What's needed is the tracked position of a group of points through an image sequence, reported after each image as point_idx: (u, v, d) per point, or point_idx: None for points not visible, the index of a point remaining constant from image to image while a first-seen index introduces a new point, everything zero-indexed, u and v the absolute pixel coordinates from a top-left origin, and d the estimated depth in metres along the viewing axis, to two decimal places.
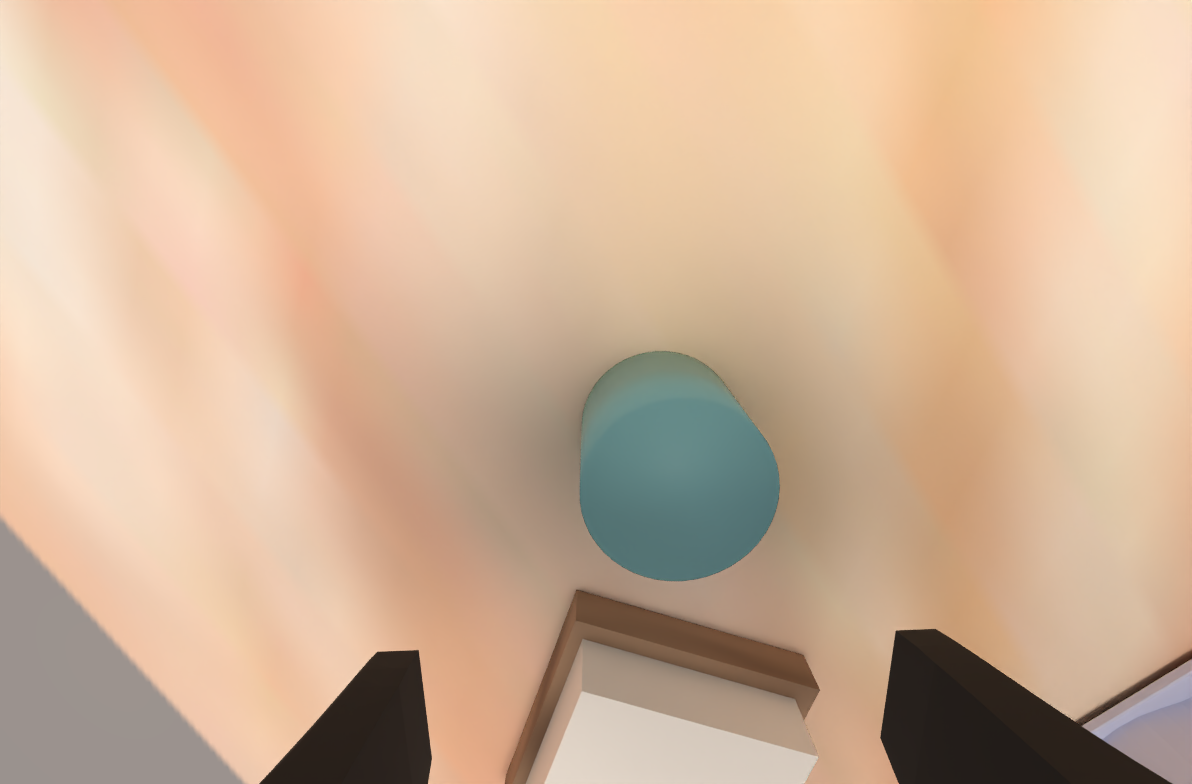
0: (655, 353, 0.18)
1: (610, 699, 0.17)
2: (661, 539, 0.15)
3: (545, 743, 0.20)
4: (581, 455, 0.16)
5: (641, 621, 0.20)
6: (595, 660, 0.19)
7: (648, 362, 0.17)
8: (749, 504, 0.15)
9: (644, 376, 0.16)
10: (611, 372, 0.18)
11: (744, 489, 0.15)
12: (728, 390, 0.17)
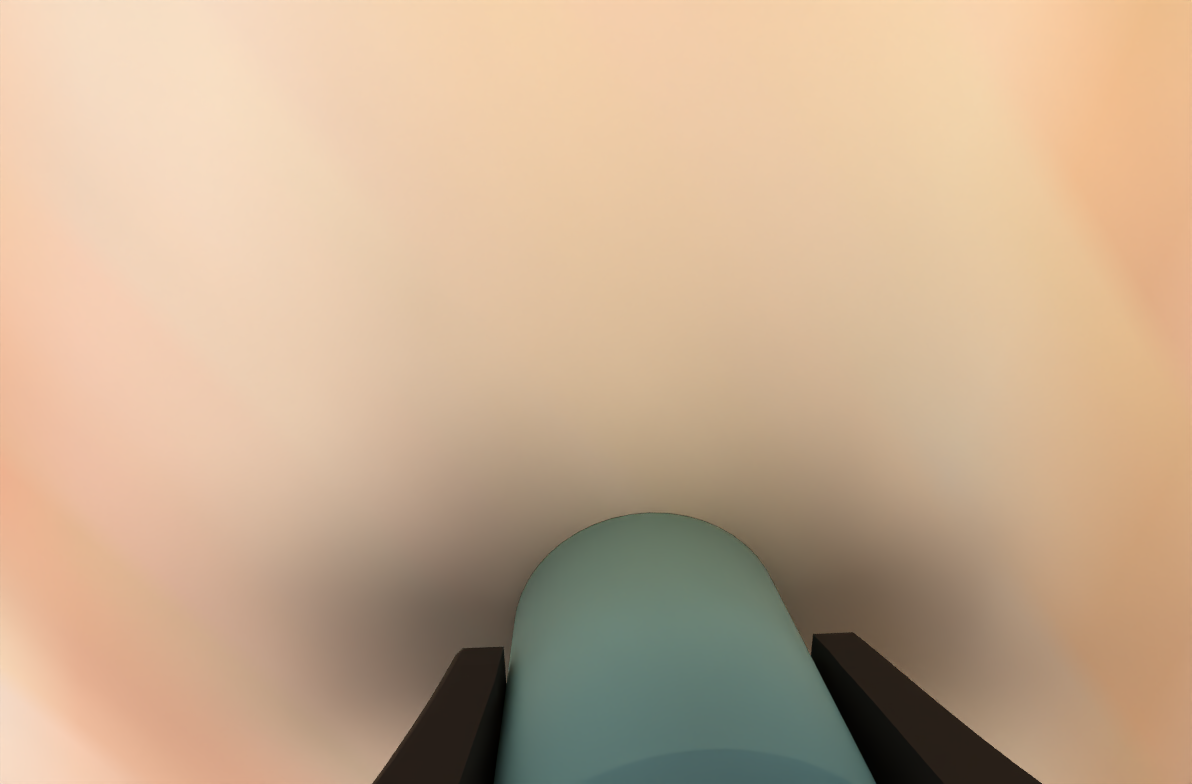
0: (629, 523, 0.10)
1: None
2: None
3: None
4: None
5: None
6: None
7: (616, 557, 0.09)
8: None
9: (606, 615, 0.08)
10: (553, 565, 0.10)
11: None
12: (771, 603, 0.09)
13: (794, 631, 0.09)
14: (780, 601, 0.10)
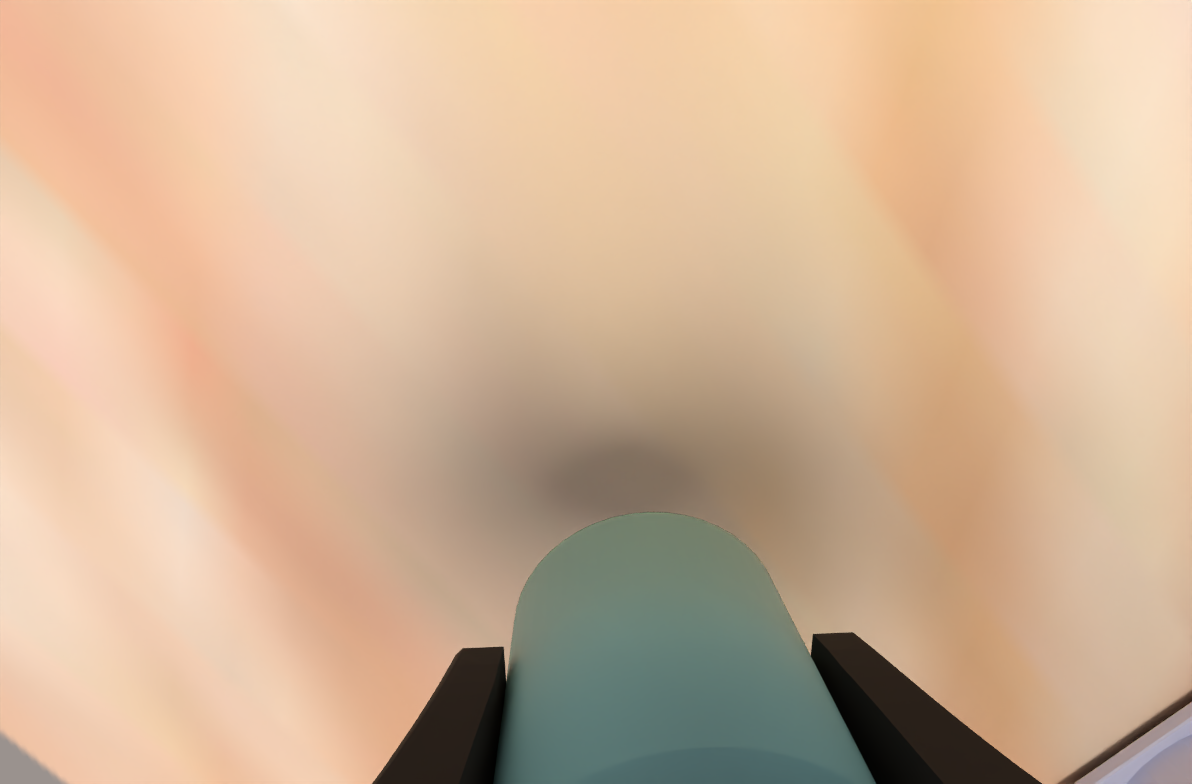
0: (629, 522, 0.10)
1: None
2: None
3: None
4: None
5: None
6: None
7: (615, 556, 0.09)
8: None
9: (605, 614, 0.08)
10: (553, 564, 0.10)
11: None
12: (770, 602, 0.09)
13: (793, 630, 0.09)
14: (779, 600, 0.10)
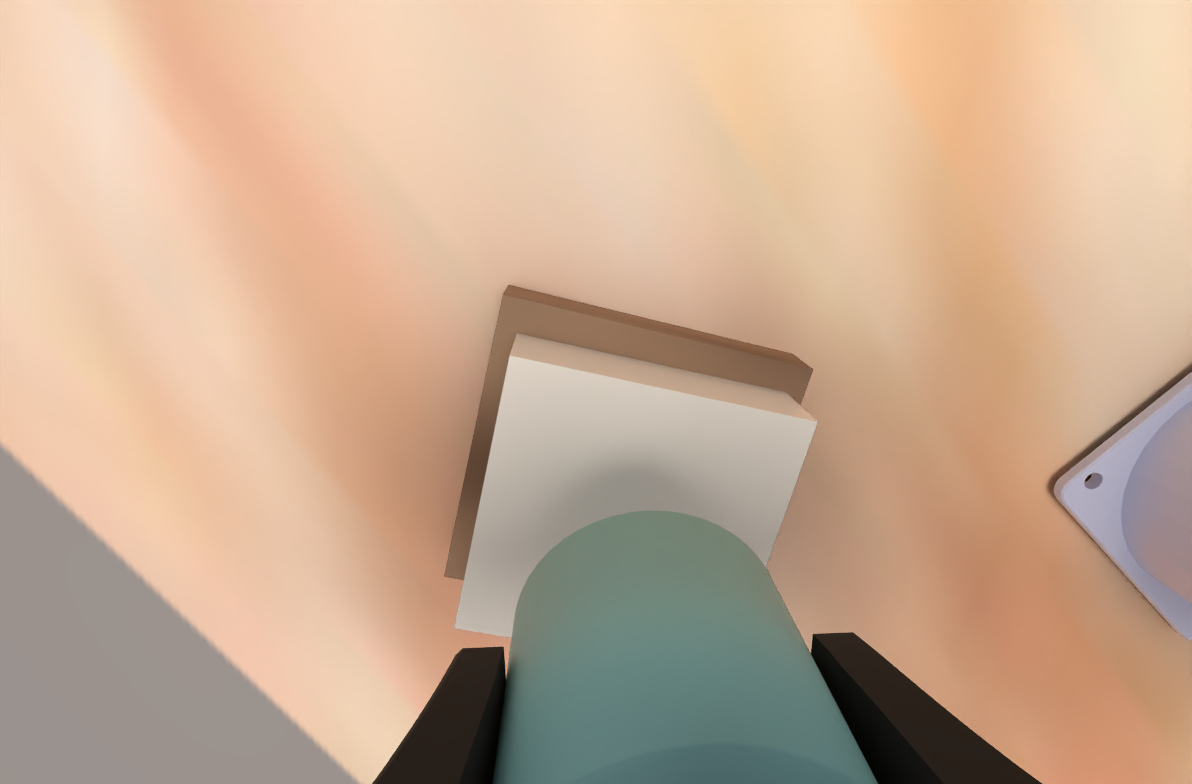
0: (629, 520, 0.10)
1: (547, 364, 0.14)
2: None
3: None
4: None
5: (589, 309, 0.17)
6: (531, 344, 0.15)
7: (615, 554, 0.09)
8: None
9: (605, 611, 0.08)
10: (552, 563, 0.10)
11: None
12: (770, 600, 0.09)
13: (794, 628, 0.09)
14: (780, 598, 0.10)
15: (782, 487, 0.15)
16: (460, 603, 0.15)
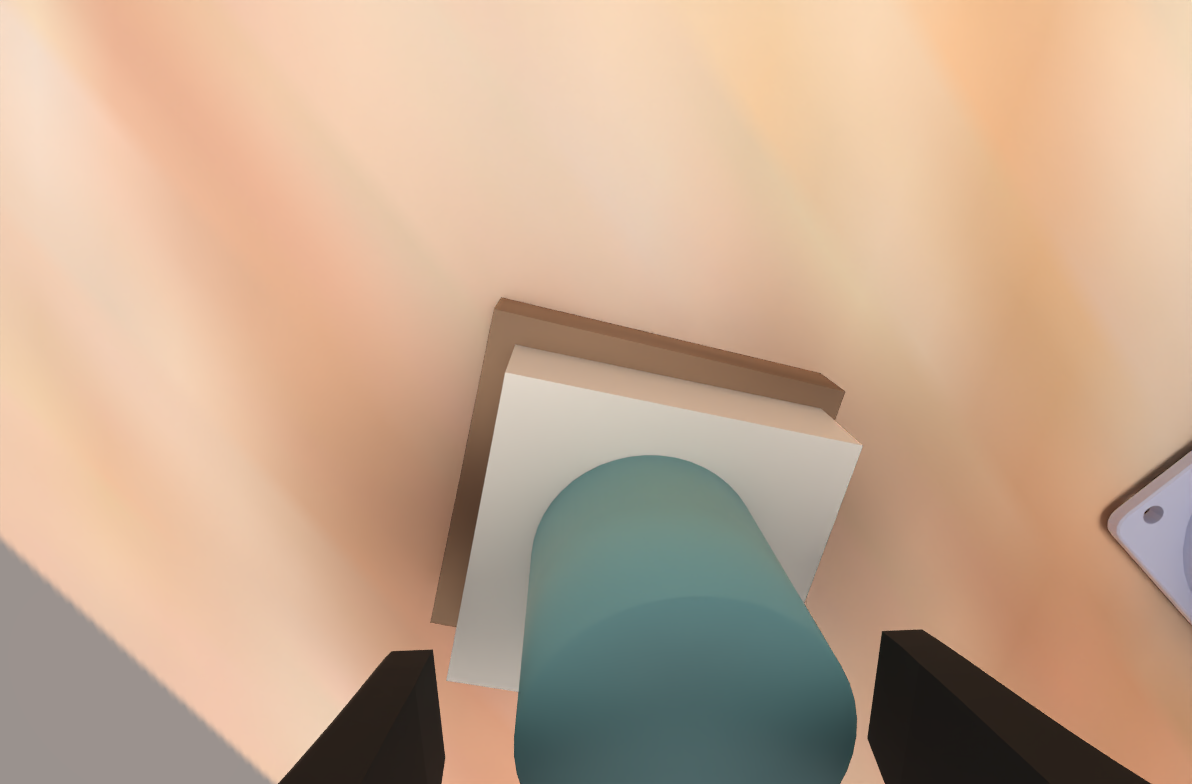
0: (629, 462, 0.12)
1: (549, 382, 0.12)
2: None
3: None
4: None
5: (592, 324, 0.15)
6: (531, 357, 0.13)
7: (618, 485, 0.11)
8: (807, 749, 0.09)
9: (611, 523, 0.10)
10: (565, 498, 0.12)
11: (796, 727, 0.09)
12: (746, 520, 0.11)
13: (765, 542, 0.11)
14: (755, 524, 0.12)
15: (821, 520, 0.13)
16: (453, 653, 0.14)
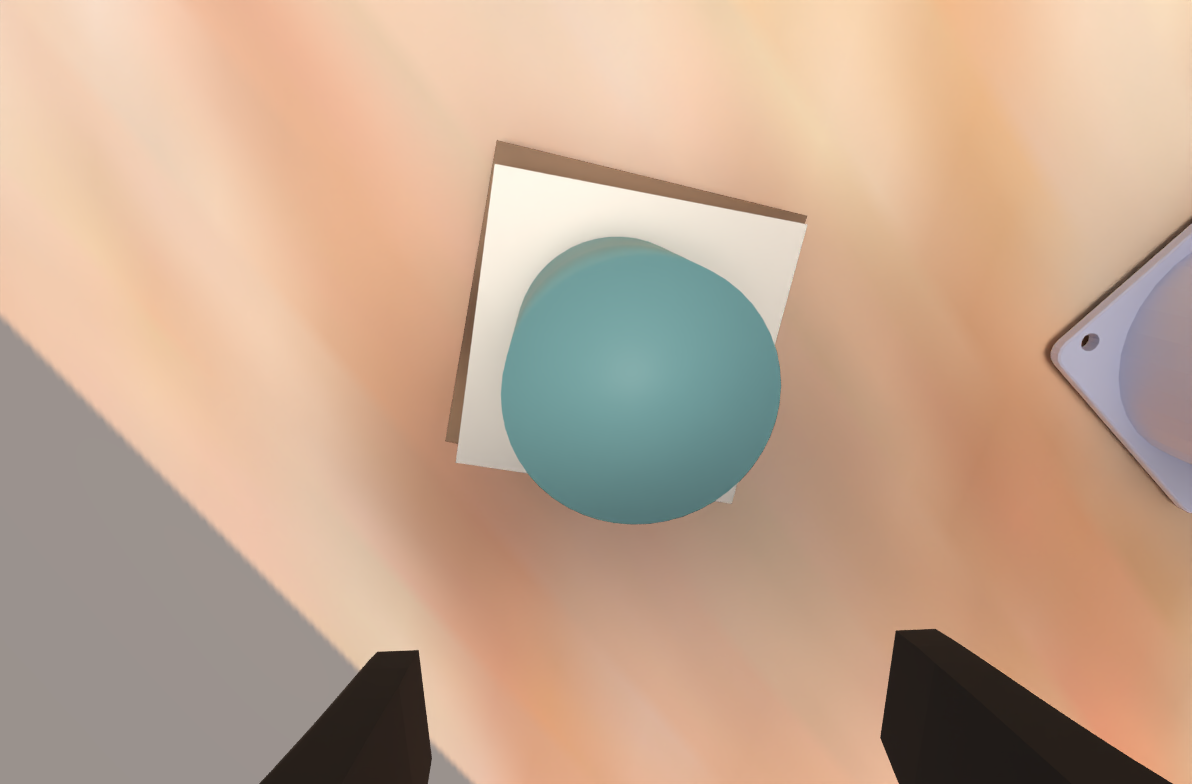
0: (595, 239, 0.14)
1: (532, 171, 0.14)
2: (628, 468, 0.11)
3: None
4: None
5: None
6: None
7: (584, 247, 0.13)
8: (741, 399, 0.11)
9: (577, 256, 0.12)
10: (541, 272, 0.14)
11: (731, 378, 0.11)
12: None
13: None
14: None
15: (775, 297, 0.15)
16: (460, 435, 0.15)
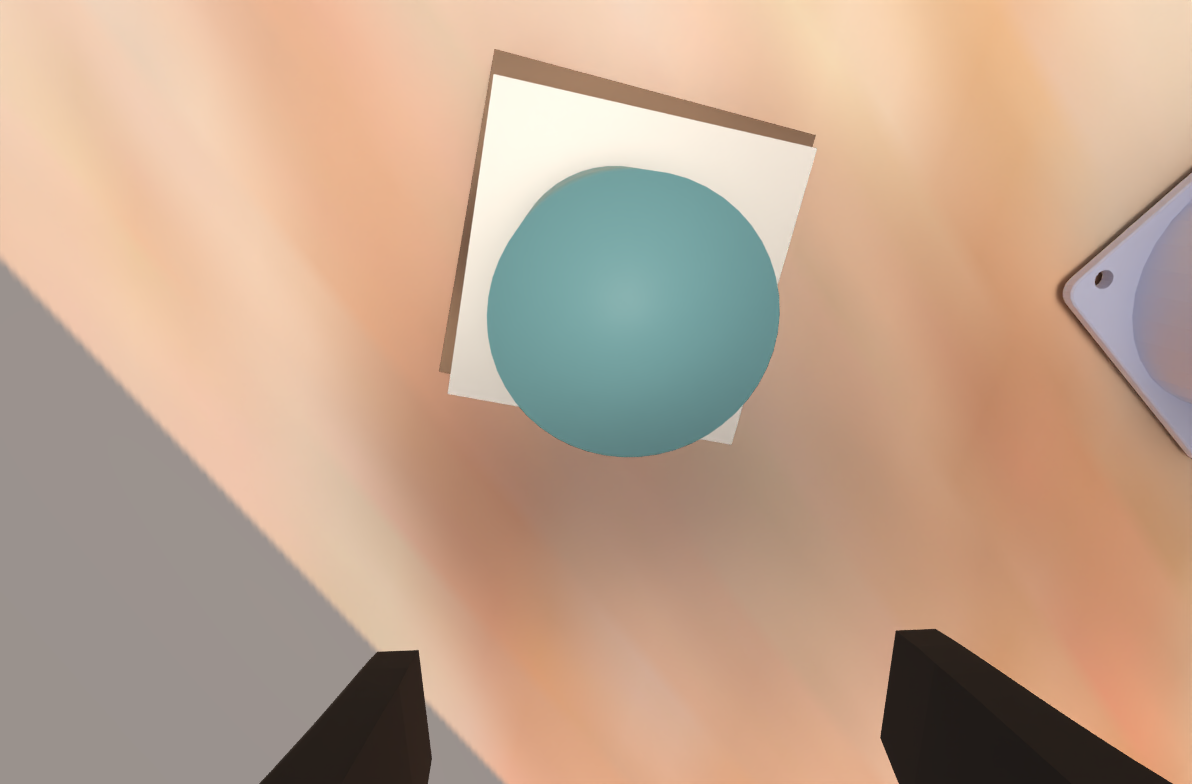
0: (593, 168, 0.13)
1: (533, 84, 0.13)
2: (618, 397, 0.11)
3: None
4: None
5: None
6: None
7: (581, 173, 0.13)
8: (738, 327, 0.10)
9: (571, 179, 0.11)
10: None
11: (727, 305, 0.10)
12: None
13: None
14: None
15: (782, 225, 0.14)
16: (453, 364, 0.15)
